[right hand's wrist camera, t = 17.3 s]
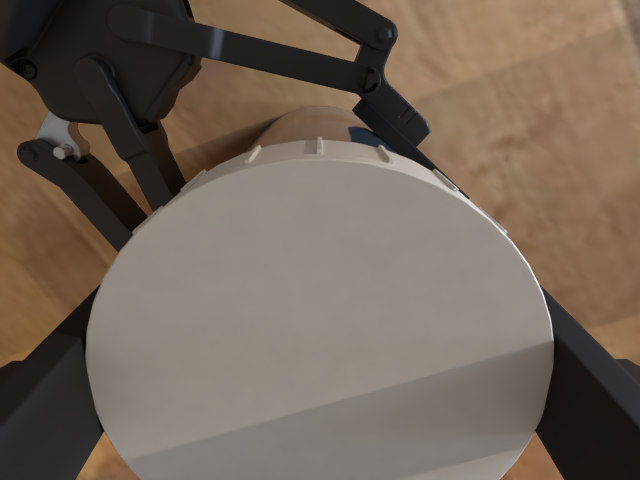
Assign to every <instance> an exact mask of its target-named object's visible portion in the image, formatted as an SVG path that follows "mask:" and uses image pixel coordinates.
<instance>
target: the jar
mask: <svg viewBox="0 0 640 480" xmlns="http://www.w3.org/2000/svg"><path fill="white" fill-rule="evenodd" d="M317 137H322V140H334V141H344V142H353V143H360V144H364V145H368V146H372V147H376V148H378V146H379V145H382V146H384V147H385V149H386V150H388V151H390V152H393V153H395V151H394V150H393V149H392V148H391V147H389V146H388V145H387V144H386V143H385V142H384V141H383V140H382V139H381V138H380V137H379V136H378V135H377V134H375V133H374V132H373V131H372V130H371V129H370V128H369V127H368V126H367V125H366V124H365V123H364V122H363V121H362V120H360V119H359V118H358V117H357V116H356V115H355V114H353V113H351V112H349V111H346V110H343V109H340V108H336V107H329V106H311V107H305V108H301V109H297V110H294V111H292V112H289V113H287V114H285V115H283V116H282V117H280V118H278V119H277V120H275V121H274V122H273V123H272V124H270V125H269V126H268V127H267V128H266V129H265V130H264V131H263V132H262V133H261V135H260V136H259V137H258V138H257V139H256V140H255V141H254V142H253V143H252V145H251V146H250V147H249V148H248V149H247V150H246V151H245V152H244V153H247V152H250V151H252V150H253V149H254V148H255V146H257V145H260V146H261V148H263V147H266V146H270V145H275V144H282V143H288V142H294V141H306V140H317ZM395 154H396V153H395Z"/></svg>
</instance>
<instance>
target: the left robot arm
mask: <svg viewBox="0 0 640 480" xmlns="http://www.w3.org/2000/svg"><path fill="white" fill-rule="evenodd" d="M279 1H281V2H282V3H284V4H286V5H288V6H290V7H292V8H293V9H295V10H297V11H299V12H301V13H302V14H304V15H306V16H308V17H310V18H311V19H313V20H315V21H317V22H319V23H320V24H322V25H324V26H326V27H328V28H330V29H331V30H333V31H335V32H337V33H339V34H340V35H342V36H344V37H346V38H348V39H349V40H351V41H353V42H355V43H357V44H359V45H360V48H359V51H358V53H357V56H356V58H355V61H354V62H351V61H347V60H343V59H339V58H335V57H331V56H327V55H323V54H319V53H315V52H311V51H307V50H303V49H299V48H295V47H291V46H286V45H282V44H278V43H274V42H270V41H266V40H262V39H258V38H254V37H250V36H246V35H242V34H238V33H234V32H230V31H226V30H222V29H218V28H215V27H211V26H207V25H203V24H199V23H195V21H194V18H193V14H192V11H191V7H190V4H189V1H188V0H0V62H1V63H2V64H3V65H5V66H6V67H8V68H9V69H10V70H12V71H13V72H15V73H17V74H18V75H20V76H21V77H23V78H24V79H26V80H27V81H28V82H29V83H31V84H32V86H33V87H34V88H35V89H36V90H37V92H38V93H39V95H40V96H41V98H42V100H43V102H44V104H45V106H46V107H47V108H48V110H49V111H48V113H47V115H46V117H45V119H44V121H43V123H42V125H41V127H40V129H39V131H38V133H37V135H36V137H35V139H33V140H30V141H26V142H23V143H21V144H20V145H19V146H18V149H17V155H18V158H19V160H20V161H21V162H22V163H23V164H24V165H25V166H27V167H28V168H30V169H31V170H33V171H35V172H36V173H38V174H40V175H41V176H43V177H44V178H46V179H48V180H49V181H51V182H52V183H54V184H56V185H57V186H59V187H60V188H61V189H62V190H63V191H64V193H65V194H66V195H67V196H68V197H69V198H70V199H71V200H72V201H73V203H74V204H75V205H76V206H77V207H78V208H79V209H80V210H81V211H82V213H83V214H84V215H85V216H86V217H87V218H88V219H89V220H90V221H91V223H92V224H93V225H94V226H95V227H96V228H97V229H98V230H99V231H100V233H101V234H102V235H103V236H104V237H105V238H106V239H107V240H108V241H109V243H110V244H111V245H112V246H113V247H114V248H115V249H116V250H117V252H118V253H119V252H120V250H121V249H122V248H123V247H124V246H125V244H126V243H127V242H128V241H129V240H130V239H131V237H132V236H133V235H134V234H132V232H133V230H134V229H135V228H137V227H138V226H139V225H140V224H141V223H142V222H144V221H145V220H146V219H147V218H148V216H147V215H146V214H145V213H144V211H143V210H142V209H141V208H140V207H139V206H138V204H137V203H136V202H135V201H134V200H133V198H132V197H131V196H130V195H129V194H128V193H127V191H126V190H125V189H124V188H123V187H122V186H121V184H120V183H119V182H118V181H117V180H116V178H115V177H114V176H113V175H112V174H111V173H110V171H109V170H108V169H107V168H106V167H105V166H104V165H103V164H102V163H101V162H100V161H99V160H98V159H97V158H96V157H94V156H93V155H92V154H90V153H89V149H90V144H89V142H88V141H87V140H85V139H84V138H83V137H82V136H81V135H80V133H79V130H78V123H88V124H99V125H102V126H103V128H104V130H105V132H106V133H107V135H108V137H109V139H110V141H111V143H112V145H113V147H114V149H115V151H116V152H117V154H118V156H119V157H120V158H121V159H122V160H124V161H126V162H127V163H128V165H129V166H130V168H131V170H132V172H133V174H134V176H135V178H136V180H137V182H138V184H139V186H140V188H141V189H142V191H143V193H144V195H145V197H146V199H147V201H148V203H149V205H150V207H151V209H152V211H153V212H155V211H156V210H157V209H158V208H160V207H161V206H163V207H164V206H165V205H166V204H167V203H168V202H170V201H171V200H172V199H173V198H174V197H175V196H176V195H178V194H179V193H180V192H181V190H180V189H181V188H183V187H184V186H185V185H186V182H185V179H184V177H183V175H182V173H181V171H180V169H179V167H178V165H177V163H176V161H175V159H174V157H173V155H172V153H171V151H170V148H169V146H168V138H167V135H166V132H165V130H164V128H163V126H162V124H161V122H160V119H163V118H165V117H166V116H167V114H168V113H169V112H170V110H171V109H172V107H173V106H174V104H175V101H176V98H177V95H178V93H179V90H180V89H181V88H183V87H184V86H185V85H187V84H188V83H189V82H191V81H192V80H193V79H194V77H195V76H196V75H197V73H198V72H199V71H200V69H201V68H202V66H201V65H200V63H201V59H202V57H205V58H209V59H214V60H219V61H223V62H227V63H231V64H235V65H240V66H244V67H248V68H252V69H256V70H260V71H265V72H269V73H273V74H277V75H281V76H285V77H289V78H294V79H298V80H302V81H306V82H310V83H314V84H319V85H323V86H327V87H331V88H335V89H339V90H344V91H348V92H352V93H356V94H358V95H359V96H360V97H361V98H362V99H361V100H360V101H359V102H358V103H357V105H356V106H355V107H354V108H353V109H352V111H353V112H354V113H355V115H356V116H357V117H358V118H359V119H360V120H362V121H363V122H364V123H365V124H366V125H367V126H368V127H369V128H370V129H371V130H372V131H373V132H374V133H375V134H377V135H378V136H379V137H380V138H381V139H382V140H383V141H384V142H385V143H386V144H387V145H388V146H389V147H391V148H392V149H393V150H394V151H395V152H396V153H397V154H398V155H400V156H403V157H405V158H408V159H410V160H413V161H415V162H416V163H418V164H420V165H422V166H423V167H425V168H427V169H429V170H431V171H433V170H434V169H436V170H437V171H439V172H440V173H441V174H442V175H443V176H444V177H445V178H447V179H448V180H449V181H450V182H451V183H452V184H453V185H455V184H454V183H453V182H452V181H451V180H450V179H449V178H448V177H447V176H446V175H445V174H444V173H442V172H441V171H440V170H439V169H438V168H437V167H436V166H435V165H434V164H433V163H432V162H431V161H430V160H429V159H428V158H427V157H426V156H425V155H423V154H422V153H421V152H420V151H419V150H418V149H417V148H416V147H417V146H418V145H419V144H420V143H421V141H422V140H423V139H424V138H425V137H426V136H427V135H428V134H429V133H430V132H431V131H430V128H429V126H428V123H427V121H426V120H425V119H424V118H423V117H422V116H421V115H420V114H419V113H418V112H417V111H416V110H415V109H414V108H413V107H412V106H411V105H410V104H409V103H408V102H407V101H406V100H405V99H404V98H403V97H401V96H400V95H399V94H398V93H397V92H396V91H395V90H394V89H393V88H392V87H391V86H390V85H389V84H388V82H387V81H386V79H385V75H384V67H385V63H386V61H387V58H388V56H389V54H390V51H391V49H392V46H393V45H394V44H395V42H396V40H397V36H398V34H397V28H396V26H395V24H394V23H393V22H392V21H390V20H389V19H387V18H385V17H383V16H382V15H380V14H378V13H376V12H375V11H373V10H371V9H369V8H368V7H366V6H364V5H362V4H361V3H359V2H357V1H355V0H279ZM455 186H456V185H455ZM456 187H457V186H456ZM457 188H458V187H457ZM458 189H459V188H458ZM458 191H459V192H460V193H462V194H463V195H464V196H465V197H466V198H467V199H470V198H469V197H468V196H467V195H466V194H465V193H464V192H463V191H461V190H460V189H459V190H458Z"/></svg>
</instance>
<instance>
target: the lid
mask: <svg viewBox="0 0 640 480" xmlns="http://www.w3.org/2000/svg"><path fill="white" fill-rule="evenodd" d="M180 190H181V192H180V193H179V194H178V195H176V196H175V197H174V198H173V199H172V200H171V201H170V202H168V203H167V204H166V205H165V206H164V207H163V206H161V207H160V208H158V209H157V210H156V211H155V212H154V213H153V214H152V215H150V216H149V217H148V218H147V219H146V220H145V221H144V222H142V223H141V224H140V225H139V226H138V227H137V228H135V229H134V230H133V232H132V234H134V235H133V236H132V237H131V239H130V240H129V241H128V242H127V243H126V244H125V246H124V247H123V248H122V249H121V250H120V252H119V253H118V255H117V256H116V258H115V259H114V261H113V263H112V264H111V266H110V268H109V269H108V271H107V273H106V274H105V276H104V278H103V280H102V282H101V285H100V287H99V290H98V292H97V295H96V297H95V299H94V302H93V305H92V310H91V314H90V318H89V323H88V327H87V336H86V351H85V360H86V367H87V372H88V377H89V382H90V386H91V391H92V395H93V400H94V404H95V409H96V412H97V415H98V418H99V420H100V422H101V425H102V427H103V430H104V431H105V433H106V435H107V436H108V438H109V440H110V441H111V443H112V445H113V446H114V448H115V450H116V451H117V453H118V454H119V455H120V456H121V458H122V459H123V460H124V461H125V463H126V464H127V465H128V467H129V468H130V469H131V470H132V471H133V472H134V473H135V474H136V475H137V476H138V477H139V478H140V479H141V480H499V479H500V478H501V477H502V476H503V475H504V474H505V473H506V472H507V471H508V469H509V468H510V467H511V466H512V465H513V464H514V463H515V462H516V460H517V459H518V457H519V456H520V454H521V453H522V452H523V450H524V449H525V447H526V446H527V445H528V443H529V441H530V440H531V438H532V436H533V434H534V432H535V430H536V428H537V426H538V424H539V422H540V420H541V417H542V415H543V411H544V407H545V402H546V398H547V393H548V389H549V384H550V380H551V375H552V370H553V365H554V340H553V332H552V325H551V318H550V315H549V311H548V308H547V305H546V302H545V298H544V295H543V292H542V290H541V288H540V286H539V284H538V282H537V280H536V278H535V276H534V274H533V272H532V270H531V268H530V266H529V264H528V263H527V262H526V260H525V259H524V257H523V256H522V255H521V253H520V252H519V250H518V249H517V247H516V246H515V245H514V243H513V242H512V241H511V240H510V239H509V238H508V237H507V236H506V235H505V234H506V233H507V231H506V230H505V229H504V228H503V227H502V226H501V225H500V224H498V223H497V222H496V221H495V220H494V219H493V218H492V217H490V216H489V215H488V214H487V213H486V212H485V211H483V210H482V209H481V208H480V207H479V206H478V205H477V206H475V205H474V204H473V203H472V202H471V201H469V200H468V199H467V198H466V197H465V196H464V195H463V194H462V193H460V192H459V191H458V190H459V189H458V188H457V187H456V186H455V185H453V184H452V183H451V182H450V181H449V180H448V179H447V178H445V177H444V176H443V175H442V174H441V173H440V172H439V171H437V170H436V169H434V170H433V171H431V170H429V169H427V168H425V167H423V166H422V165H420V164H418V163H416V162H415V161H413V160H410V159H408V158H405V157H403V156H400V155H398V154H395V153H393V152H390V151H388V150H386V149H385V147H384V146H382V145H379V146H378V148H376V147H372V146H368V145H364V144H360V143H353V142H344V141H334V140H322V137H317V140H306V141H294V142H288V143H282V144H275V145H270V146H266V147H263V148H261V146H260V145H257V146H255V148H254V149H253V150H252V151H250V152H247V153H243V154H241V155H239V156H237V157H234V158H232V159H230V160H228V161H226V162H223V163H221V164H219V165H217V166H215V167H214V168H212V169H211V170H209V171H208V172H207V171H206V170H205V169H204V170H202V171H201V172H200V173H199V174H197V175H196V176H195V177H194V178H193V179H192V180H191V181H189V182H188V183H187V184H186V185H185V186H184V187H183V188H181V189H180Z"/></svg>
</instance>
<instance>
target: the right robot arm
mask: <svg viewBox="0 0 640 480" xmlns="http://www.w3.org/2000/svg"><path fill="white" fill-rule="evenodd" d="M100 285H101V284H100ZM100 285H99V286H98V287H97V288H96V289H95V290H94V291H93V292H92V293H91V294H90V295H89V296H88V297H87V298H86V299H85V300H84V301H83V302H82V303H81V304H80V305H79V306H78V307H77V308H76V309H75V310H74V311H73V312H72V313H71V314H70V315H69V316H68V317H67V318H66V319H65V320H64V321H63V322H62V323H61V324H60V325H59V326H58V327H57V328H56V329H55V330H54V331H53V332H52V333H51V334H50V335H49V336H48V337H47V338H46V339H45V340H44V341H43V342H42V343H41V344H40V345H39V346H38V347H36V348H35V349H34V350H33V351H32V352H31V353H30V354H29V355H28V356H27V357H26V358H25V359H24V360H23V361H12V362H10V363H8V364H6V365H5V366H3V367H1V368H0V480H75V479H76V478H77V476H78V474H79V473H80V471H81V469H82V467H83V466H84V464H85V462H86V461H87V459H88V457H89V456H90V454H91V452H92V451H93V449H94V447H95V446H96V444H97V442H98V440H99V439H100V437H101V435H102V434H103V432H104V430H103V427H102V425H101V422H100V420H99V418H98V415H97V412H96V409H95V404H94V400H93V395H92V391H91V386H90V382H89V377H88V372H87V367H86V360H85V351H86V336H87V327H88V323H89V318H90V314H91V310H92V305H93V302H94V299H95V297H96V295H97V292H98V290H99V287H100ZM539 286H540V285H539ZM540 288H541V290H542V292H543V295H544V298H545V302H546V305H547V308H548V311H549V315H550V318H551V325H552V332H553V340H554V365H553V370H552V375H551V380H550V384H549V389H548V393H547V398H546V402H545V407H544V411H543V415H542V417H541V420H540V422H539V424H538V426H537V428H536V430H535V431H536V433H537V435H538V436H539V438H540V440H541V441H542V443H543V445H544V446H545V448H546V450H547V451H548V453H549V455H550V456H551V458H552V460H553V462H554V463H555V465H556V467H557V468H558V470H559V472H560V473H561V475H562V477H563V478H564V480H640V366H638V365H636V364H634V363H633V362H631V361H629V360H628V359H614V358H613V357H612V356H611V355H610V354H609V353H608V352H607V351H606V350H605V349H604V348H603V347H602V346H601V345H600V344H599V343H598V342H597V341H596V340H595V339H594V338H593V337H592V336H591V335H590V334H589V333H588V332H587V331H586V330H585V329H584V328H583V327H582V326H581V325H580V324H579V323H578V322H577V321H576V320H575V319H574V318H573V317H572V316H571V315H570V314H569V313H568V312H567V311H566V310H565V309H564V308H563V307H562V306H561V305H560V304H559V303H557V302H556V301H555V300H554V299H553V298H552V297H551V296H550V295H549V294H548V293H547V292H546V291H545V290H544V289H543V288H542V287H541V286H540Z"/></svg>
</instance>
